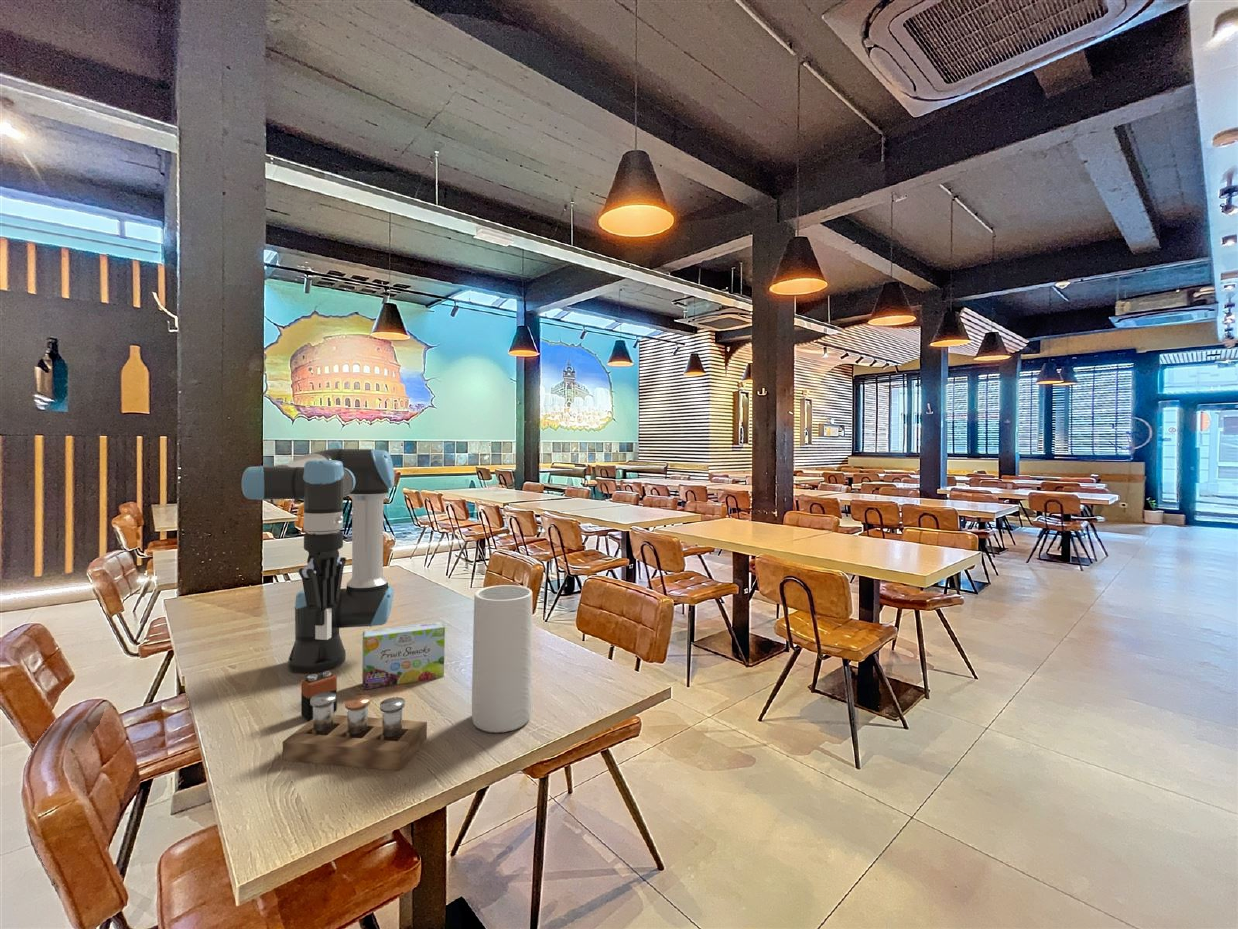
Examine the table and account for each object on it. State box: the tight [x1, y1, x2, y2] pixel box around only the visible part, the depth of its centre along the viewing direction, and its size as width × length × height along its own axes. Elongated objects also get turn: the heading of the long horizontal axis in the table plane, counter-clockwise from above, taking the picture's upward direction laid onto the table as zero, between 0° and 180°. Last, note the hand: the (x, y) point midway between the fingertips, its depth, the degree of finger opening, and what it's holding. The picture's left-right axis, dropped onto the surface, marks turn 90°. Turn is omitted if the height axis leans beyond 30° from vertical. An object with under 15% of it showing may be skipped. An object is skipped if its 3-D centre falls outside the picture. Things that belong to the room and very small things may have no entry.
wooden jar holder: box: [282, 714, 428, 772], centre depth 119 cm, size 26×12×4 cm, turn 84°
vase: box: [471, 584, 533, 734], centre depth 133 cm, size 14×14×32 cm
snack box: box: [361, 621, 446, 691], centre depth 153 cm, size 21×6×15 cm, turn 117°
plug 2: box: [379, 696, 406, 737], centre depth 118 cm, size 5×5×6 cm
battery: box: [300, 670, 338, 722], centre depth 134 cm, size 4×7×10 cm, turn 142°
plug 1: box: [310, 692, 336, 731], centre depth 120 cm, size 5×5×6 cm
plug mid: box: [344, 694, 371, 734], centre depth 119 cm, size 5×5×6 cm
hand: (323, 638), depth 119 cm, fingers closed
